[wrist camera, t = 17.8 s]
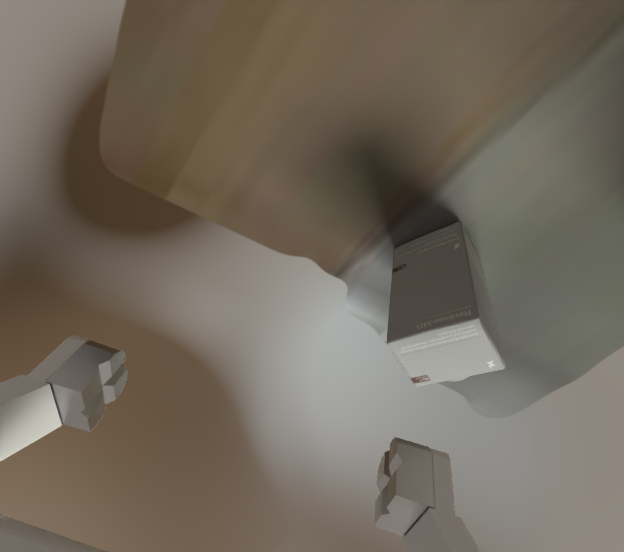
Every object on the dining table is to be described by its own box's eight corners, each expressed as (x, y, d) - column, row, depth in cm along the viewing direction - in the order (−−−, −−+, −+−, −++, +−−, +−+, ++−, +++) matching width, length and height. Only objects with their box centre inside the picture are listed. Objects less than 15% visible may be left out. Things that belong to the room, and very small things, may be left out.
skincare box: (460, 218, 42) (481, 308, 29) (484, 269, 45) (513, 372, 32) (389, 248, 46) (380, 339, 33) (415, 293, 49) (416, 394, 36)
